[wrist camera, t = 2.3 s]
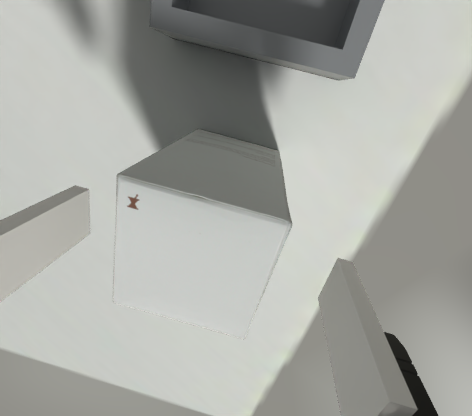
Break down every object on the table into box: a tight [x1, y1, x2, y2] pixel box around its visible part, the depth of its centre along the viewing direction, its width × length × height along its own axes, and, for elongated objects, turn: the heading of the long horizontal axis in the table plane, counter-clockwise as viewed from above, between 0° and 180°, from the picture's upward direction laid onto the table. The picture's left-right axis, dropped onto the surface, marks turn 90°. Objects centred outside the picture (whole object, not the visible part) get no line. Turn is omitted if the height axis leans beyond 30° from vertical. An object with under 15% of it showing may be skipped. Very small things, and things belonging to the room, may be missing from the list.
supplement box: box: [113, 129, 292, 339], centre depth 17 cm, size 7×7×13 cm
